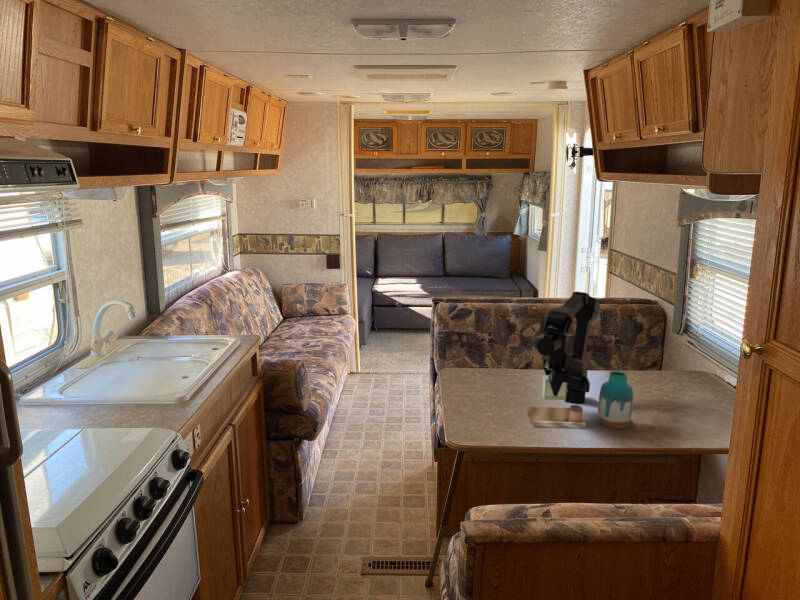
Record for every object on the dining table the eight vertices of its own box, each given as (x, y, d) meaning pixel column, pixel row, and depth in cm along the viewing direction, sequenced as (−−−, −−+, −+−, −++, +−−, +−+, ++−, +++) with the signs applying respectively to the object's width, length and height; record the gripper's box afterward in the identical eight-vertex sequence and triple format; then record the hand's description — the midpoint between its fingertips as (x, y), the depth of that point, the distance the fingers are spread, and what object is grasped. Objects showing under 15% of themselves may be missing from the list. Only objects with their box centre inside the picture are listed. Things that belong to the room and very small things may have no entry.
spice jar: (579, 421, 195) (581, 404, 193) (583, 426, 190) (584, 410, 189) (566, 420, 195) (567, 404, 193) (569, 426, 190) (571, 409, 189)
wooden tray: (572, 411, 206) (572, 403, 205) (584, 432, 189) (585, 423, 189) (523, 410, 206) (524, 401, 206) (532, 431, 190) (533, 421, 189)
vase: (612, 419, 200) (617, 366, 196) (637, 431, 191) (643, 376, 187) (589, 424, 196) (594, 370, 191) (613, 437, 186) (619, 380, 182)
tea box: (544, 399, 192) (545, 379, 190) (542, 394, 196) (543, 375, 194) (565, 400, 191) (567, 380, 190) (562, 395, 195) (564, 375, 194)
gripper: (590, 358, 180) (586, 404, 184) (575, 340, 199) (571, 383, 202) (553, 357, 181) (550, 403, 184) (542, 340, 199) (539, 383, 202)
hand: (554, 393), depth 193 cm, fingers closed on tea box, 4 cm apart
